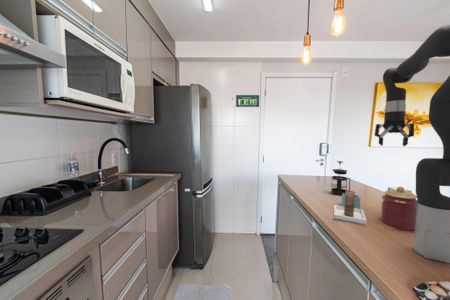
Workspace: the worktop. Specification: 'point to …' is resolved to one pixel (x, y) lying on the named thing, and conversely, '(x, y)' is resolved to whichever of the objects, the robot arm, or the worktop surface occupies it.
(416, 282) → the worktop surface
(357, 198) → the teal pot
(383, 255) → the worktop surface
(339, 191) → the french press
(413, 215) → the canister
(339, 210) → the white tray
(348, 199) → the walnut peg
